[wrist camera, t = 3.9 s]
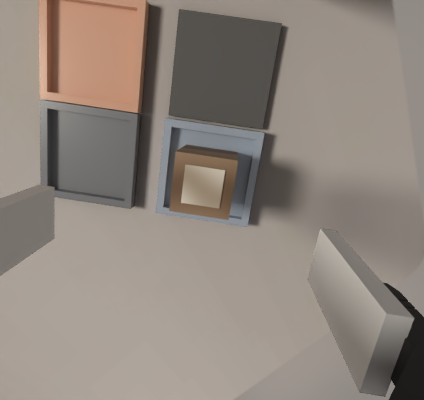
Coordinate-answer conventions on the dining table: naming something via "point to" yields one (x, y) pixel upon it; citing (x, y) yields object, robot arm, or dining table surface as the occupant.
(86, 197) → the tray charcoal
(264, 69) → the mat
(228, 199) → the letter block
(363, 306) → the robot arm
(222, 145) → the tray slate
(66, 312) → the dining table surface
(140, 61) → the tray terracotta
